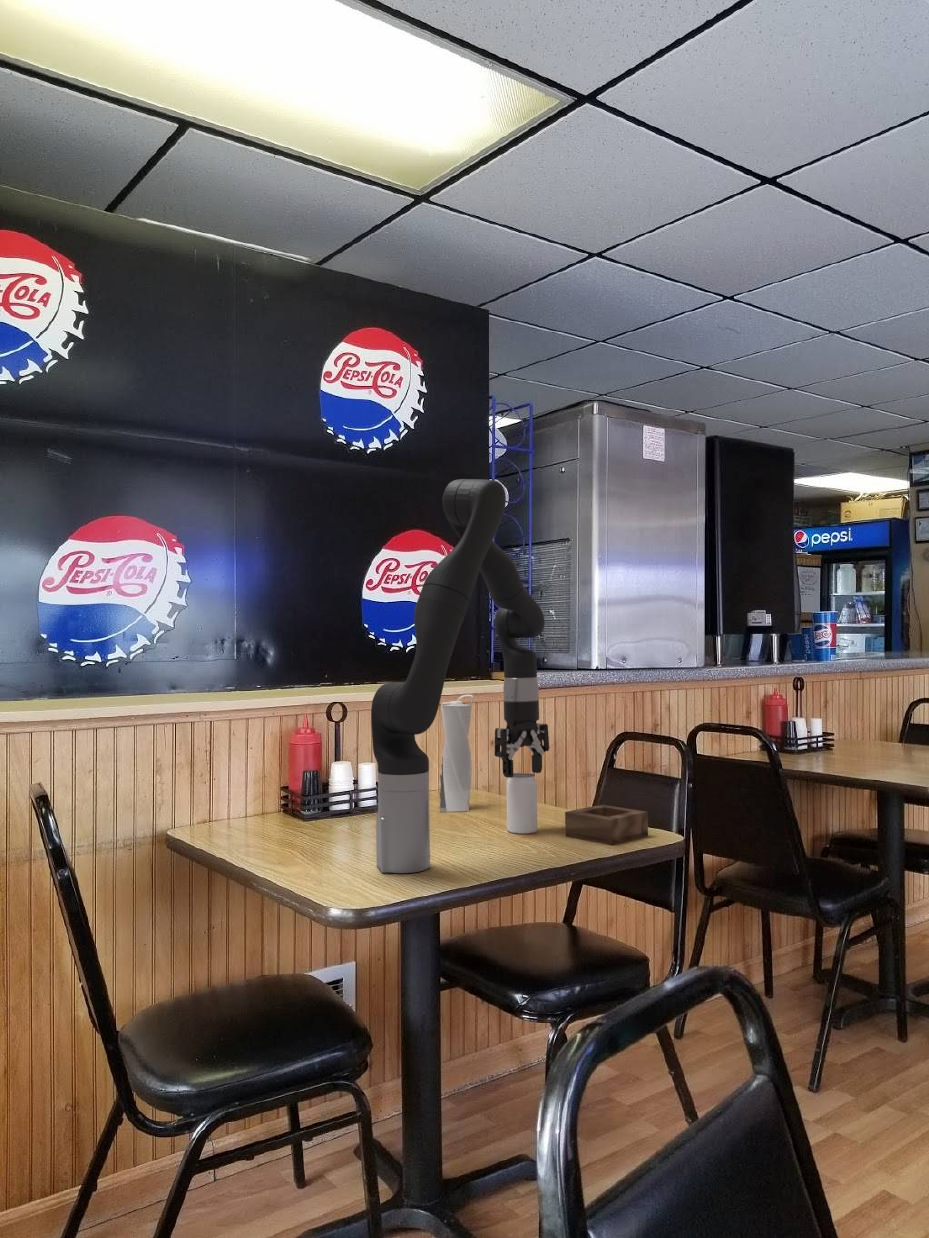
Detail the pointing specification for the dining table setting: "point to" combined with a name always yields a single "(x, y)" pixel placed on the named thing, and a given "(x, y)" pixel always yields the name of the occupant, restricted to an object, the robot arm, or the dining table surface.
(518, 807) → the can
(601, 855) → the dining table surface
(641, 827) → the box
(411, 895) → the dining table surface
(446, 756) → the grey water bottle
